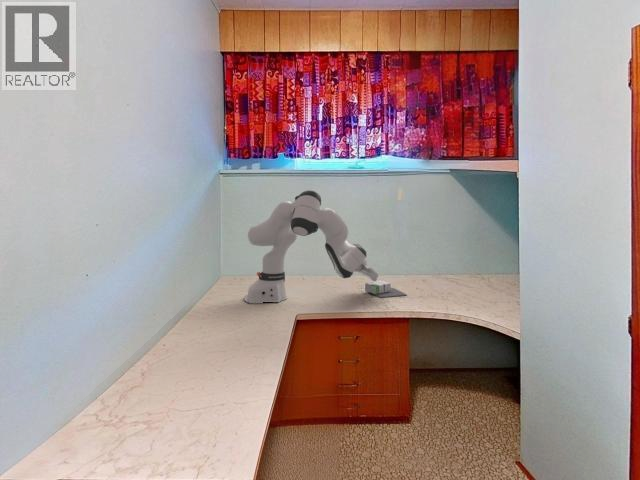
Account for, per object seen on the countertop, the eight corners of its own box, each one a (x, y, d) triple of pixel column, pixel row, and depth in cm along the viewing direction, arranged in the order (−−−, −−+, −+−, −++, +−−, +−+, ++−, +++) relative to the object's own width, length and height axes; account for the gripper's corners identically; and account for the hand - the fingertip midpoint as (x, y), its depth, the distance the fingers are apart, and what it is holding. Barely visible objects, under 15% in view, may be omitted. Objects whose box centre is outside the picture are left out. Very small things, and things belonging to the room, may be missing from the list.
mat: (380, 298, 233) (380, 296, 233) (367, 290, 248) (367, 289, 248) (406, 295, 238) (406, 294, 238) (393, 288, 253) (393, 287, 253)
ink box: (375, 294, 237) (391, 291, 244) (375, 285, 236) (391, 282, 243) (364, 291, 244) (380, 288, 251) (364, 282, 243) (380, 280, 250)
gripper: (370, 262, 225) (387, 280, 230) (355, 256, 245) (370, 272, 249) (362, 271, 225) (379, 288, 229) (347, 264, 244) (363, 280, 248)
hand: (374, 280), depth 239 cm, fingers closed
